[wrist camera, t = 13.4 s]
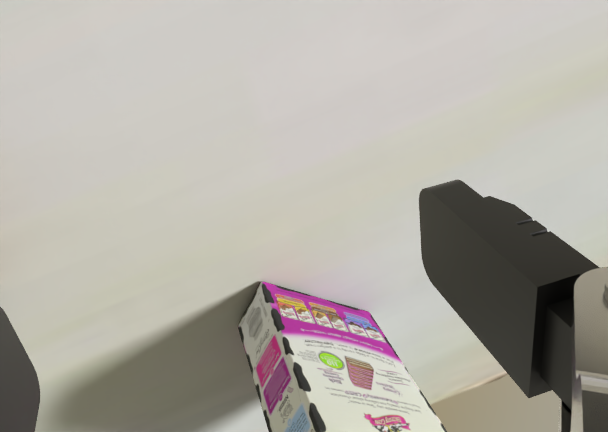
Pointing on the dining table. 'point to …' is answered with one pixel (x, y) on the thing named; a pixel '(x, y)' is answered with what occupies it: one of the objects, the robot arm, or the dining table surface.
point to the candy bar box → (327, 368)
